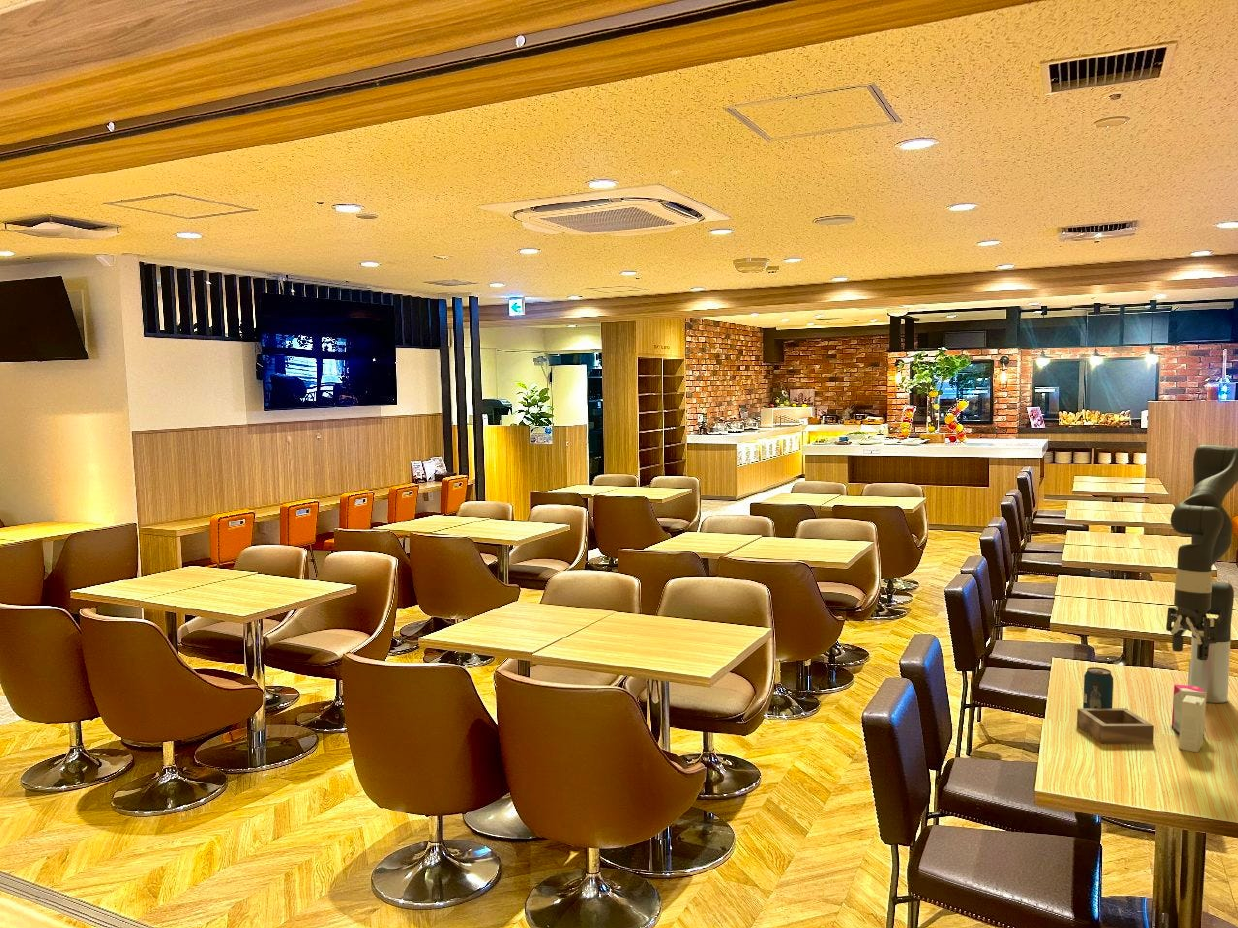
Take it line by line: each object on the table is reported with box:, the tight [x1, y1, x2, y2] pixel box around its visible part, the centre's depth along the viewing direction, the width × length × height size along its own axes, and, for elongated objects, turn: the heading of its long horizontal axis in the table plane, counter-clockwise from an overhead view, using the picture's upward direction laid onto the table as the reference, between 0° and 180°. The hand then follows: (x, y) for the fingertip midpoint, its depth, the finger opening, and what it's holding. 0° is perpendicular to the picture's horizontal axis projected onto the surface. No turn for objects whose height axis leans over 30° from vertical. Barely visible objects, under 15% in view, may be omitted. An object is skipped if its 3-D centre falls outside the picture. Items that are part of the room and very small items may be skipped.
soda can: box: [1082, 666, 1114, 708], centre depth 250 cm, size 7×7×12 cm
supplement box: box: [1171, 684, 1207, 738], centre depth 237 cm, size 6×6×12 cm
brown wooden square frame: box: [1076, 707, 1155, 745], centre depth 236 cm, size 13×13×4 cm
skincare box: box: [1178, 695, 1206, 753], centre depth 226 cm, size 6×4×12 cm
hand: (1189, 655), depth 225 cm, fingers open, 8 cm apart
